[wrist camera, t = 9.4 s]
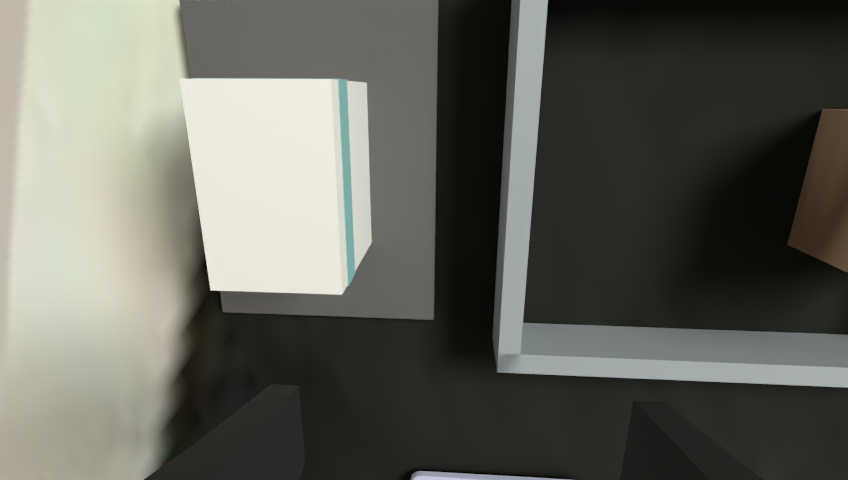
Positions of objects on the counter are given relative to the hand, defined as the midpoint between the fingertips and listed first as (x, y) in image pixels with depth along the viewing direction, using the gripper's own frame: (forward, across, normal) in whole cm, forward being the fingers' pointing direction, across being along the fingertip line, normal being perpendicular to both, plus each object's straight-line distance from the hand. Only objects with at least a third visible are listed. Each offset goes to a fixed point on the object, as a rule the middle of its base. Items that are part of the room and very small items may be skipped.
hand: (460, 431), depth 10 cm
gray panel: (+9, +6, -4) cm, 12 cm away
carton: (+9, +6, -4) cm, 11 cm away
